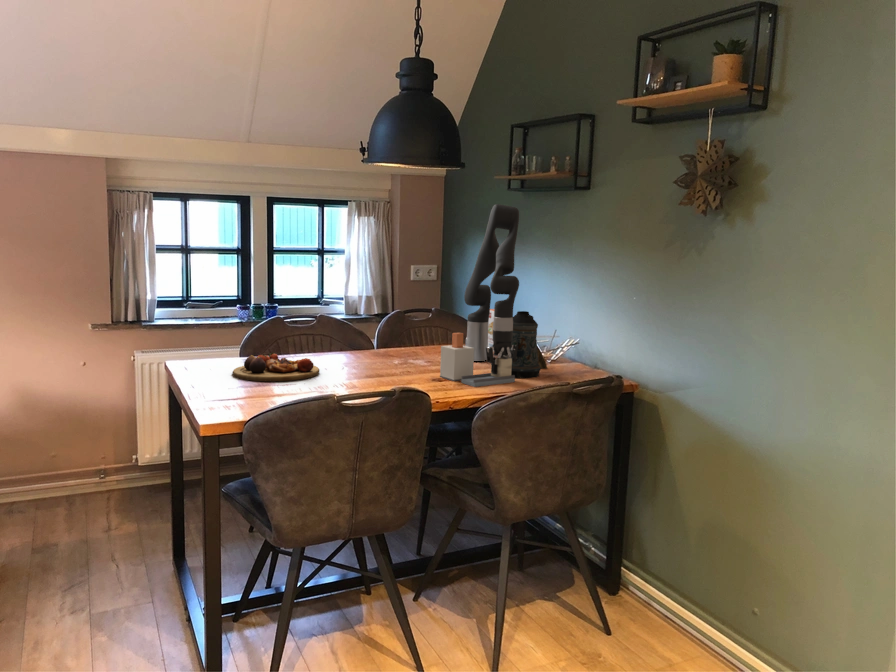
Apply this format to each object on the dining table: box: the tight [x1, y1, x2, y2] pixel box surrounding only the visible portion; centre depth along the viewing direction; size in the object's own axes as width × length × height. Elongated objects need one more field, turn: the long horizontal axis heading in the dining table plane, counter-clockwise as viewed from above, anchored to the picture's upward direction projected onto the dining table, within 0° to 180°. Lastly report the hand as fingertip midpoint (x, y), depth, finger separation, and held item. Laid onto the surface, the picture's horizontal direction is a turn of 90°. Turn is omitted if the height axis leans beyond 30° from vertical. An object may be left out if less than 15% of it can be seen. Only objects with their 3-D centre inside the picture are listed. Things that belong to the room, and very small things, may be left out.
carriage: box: [490, 355, 512, 377], centre depth 265 cm, size 6×5×8 cm
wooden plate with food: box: [232, 352, 320, 382], centre depth 265 cm, size 32×32×8 cm
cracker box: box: [488, 308, 495, 351], centre depth 323 cm, size 14×6×21 cm, turn 25°
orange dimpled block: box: [451, 332, 464, 348], centre depth 266 cm, size 3×3×9 cm
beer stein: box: [510, 310, 541, 379], centre depth 279 cm, size 16×19×25 cm
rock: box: [537, 345, 548, 370], centre depth 297 cm, size 11×9×10 cm
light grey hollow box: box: [439, 344, 474, 382], centre depth 267 cm, size 9×9×12 cm
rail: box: [460, 372, 516, 388], centre depth 262 cm, size 8×19×2 cm, turn 125°
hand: (501, 373), depth 265 cm, fingers open, 5 cm apart
